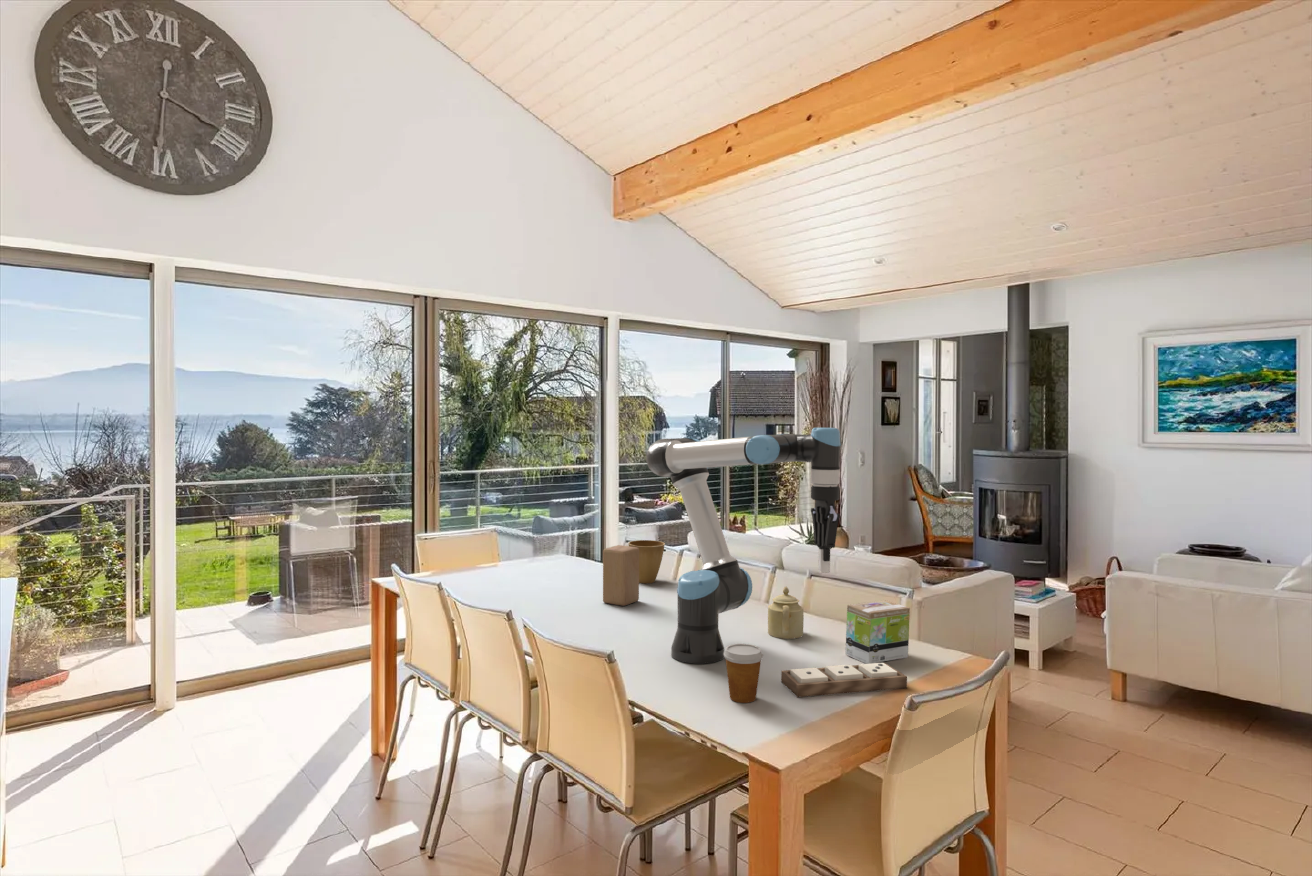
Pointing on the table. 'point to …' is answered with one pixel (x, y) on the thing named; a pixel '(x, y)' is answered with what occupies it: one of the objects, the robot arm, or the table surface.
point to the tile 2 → (843, 672)
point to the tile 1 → (808, 675)
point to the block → (620, 575)
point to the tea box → (877, 631)
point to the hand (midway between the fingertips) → (824, 572)
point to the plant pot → (648, 559)
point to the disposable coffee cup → (743, 671)
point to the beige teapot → (785, 617)
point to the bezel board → (843, 684)
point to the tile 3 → (877, 670)
